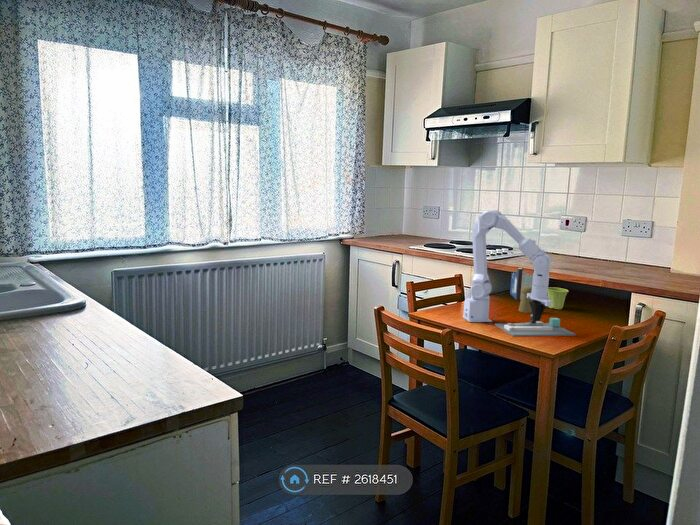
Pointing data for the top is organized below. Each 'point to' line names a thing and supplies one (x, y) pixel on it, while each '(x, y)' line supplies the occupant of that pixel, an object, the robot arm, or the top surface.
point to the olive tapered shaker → (525, 300)
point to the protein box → (519, 283)
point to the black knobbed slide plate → (530, 323)
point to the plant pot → (557, 297)
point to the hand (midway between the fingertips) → (536, 320)
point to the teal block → (554, 322)
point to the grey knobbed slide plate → (534, 330)
